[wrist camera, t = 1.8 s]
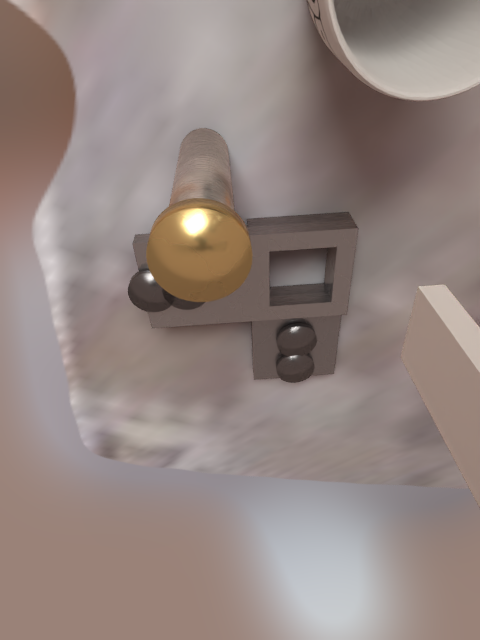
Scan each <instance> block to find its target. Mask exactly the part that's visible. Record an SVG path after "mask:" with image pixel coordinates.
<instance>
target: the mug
mask: <svg viewBox="0 0 480 640" xmlns="http://www.w3.org/2000/svg"><path fill="white" fill-rule="evenodd" d="M307 2H308V7H309V10H310V14H311V17H312V19H313V22H314V24H315V26H316V29H317V31H318V32H319V34H320V36H321V38H322V40H323V41H324V42H325V44H326V45H327V47H328V48H329V49H330V50H331V52H332V53H333V54H334V55H335V56H336V57H337V58H338V59H339V60H340V61H341V62H342V63H343V64H344V65H345V66H346V67H347V68H348V69H349V70H350V71H351V72H352V73H353V74H354V75H355V76H356V77H357V78H358V79H359V80H360V81H362V82H363V83H365V84H366V85H367V86H369V87H371V88H372V89H374V90H376V91H378V92H380V93H382V94H385V95H387V96H390V97H394V98H397V99H402V100H409V101H430V100H438V99H442V98H447V97H450V96H453V95H457V94H459V93H462V92H464V91H467V90H469V89H471V88H473V87H475V86H477V85H479V84H480V0H307Z"/></svg>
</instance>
